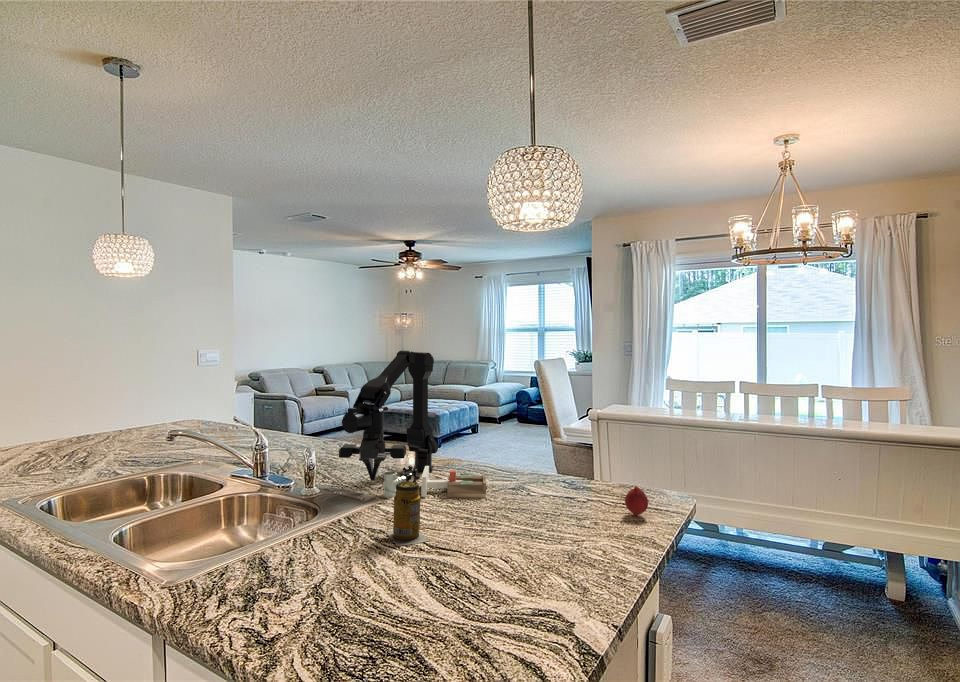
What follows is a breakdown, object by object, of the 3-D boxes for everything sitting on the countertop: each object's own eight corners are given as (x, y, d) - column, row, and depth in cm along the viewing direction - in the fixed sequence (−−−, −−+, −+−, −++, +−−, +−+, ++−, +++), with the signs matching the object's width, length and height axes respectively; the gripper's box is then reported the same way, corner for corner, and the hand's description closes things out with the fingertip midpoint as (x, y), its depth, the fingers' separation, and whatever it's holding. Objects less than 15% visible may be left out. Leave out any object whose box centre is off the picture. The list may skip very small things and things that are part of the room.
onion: (651, 515, 134) (652, 485, 134) (641, 521, 130) (642, 490, 130) (630, 510, 138) (631, 480, 138) (620, 515, 134) (621, 485, 134)
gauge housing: (448, 486, 156) (448, 473, 156) (484, 486, 156) (484, 473, 156) (447, 497, 146) (447, 483, 146) (485, 497, 146) (486, 483, 146)
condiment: (416, 528, 123) (416, 478, 123) (428, 541, 115) (429, 488, 115) (386, 533, 120) (387, 482, 119) (396, 547, 112) (397, 492, 112)
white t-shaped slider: (424, 484, 156) (425, 465, 156) (462, 484, 157) (463, 465, 157) (421, 496, 144) (421, 476, 144) (462, 497, 145) (462, 477, 145)
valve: (394, 500, 143) (419, 488, 153) (395, 476, 143) (420, 466, 153) (376, 496, 146) (402, 485, 156) (376, 473, 146) (402, 463, 156)
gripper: (334, 432, 141) (333, 488, 142) (402, 433, 142) (401, 489, 142) (343, 424, 152) (343, 477, 153) (406, 425, 153) (406, 477, 153)
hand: (372, 480), depth 150 cm, fingers closed
